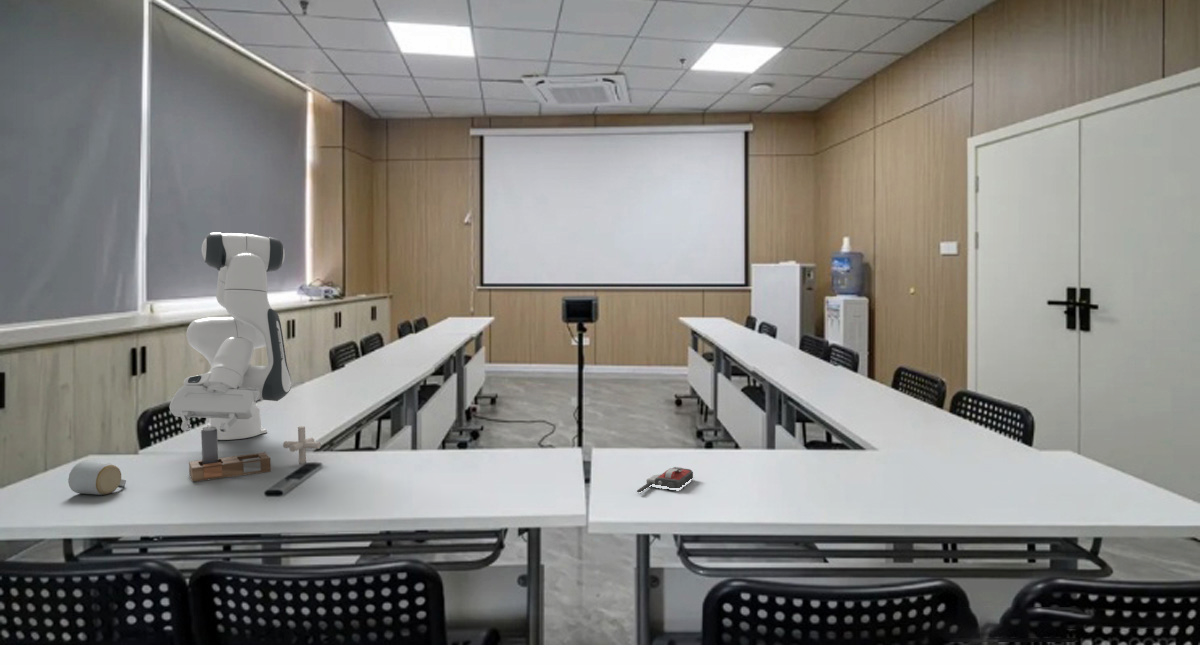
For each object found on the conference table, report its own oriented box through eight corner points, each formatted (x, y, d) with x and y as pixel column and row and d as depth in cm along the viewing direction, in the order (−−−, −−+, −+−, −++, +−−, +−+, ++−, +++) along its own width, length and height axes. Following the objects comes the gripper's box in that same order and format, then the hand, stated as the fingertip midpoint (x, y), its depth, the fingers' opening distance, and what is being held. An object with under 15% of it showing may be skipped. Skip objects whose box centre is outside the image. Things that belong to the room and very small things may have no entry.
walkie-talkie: (663, 476, 184) (633, 497, 166) (663, 459, 184) (634, 478, 166) (695, 480, 180) (669, 502, 162) (695, 463, 180) (669, 483, 162)
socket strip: (189, 475, 183) (189, 460, 182) (265, 464, 193) (264, 451, 193) (192, 482, 176) (192, 467, 175) (271, 471, 186) (270, 457, 186)
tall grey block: (202, 475, 182) (200, 427, 181) (217, 473, 184) (216, 425, 183) (203, 478, 179) (201, 429, 178) (219, 476, 181) (217, 428, 181)
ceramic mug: (98, 499, 162) (97, 466, 162) (67, 497, 163) (66, 464, 163) (135, 486, 172) (135, 455, 172) (106, 485, 174) (105, 454, 173)
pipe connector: (328, 458, 200) (327, 423, 199) (310, 467, 190) (309, 431, 189) (294, 457, 201) (294, 423, 200) (275, 466, 191) (274, 430, 190)
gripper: (265, 394, 192) (249, 438, 183) (186, 391, 190) (167, 435, 181) (259, 381, 187) (242, 424, 178) (178, 377, 186) (158, 421, 176)
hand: (204, 429), depth 180 cm, fingers open, 8 cm apart
